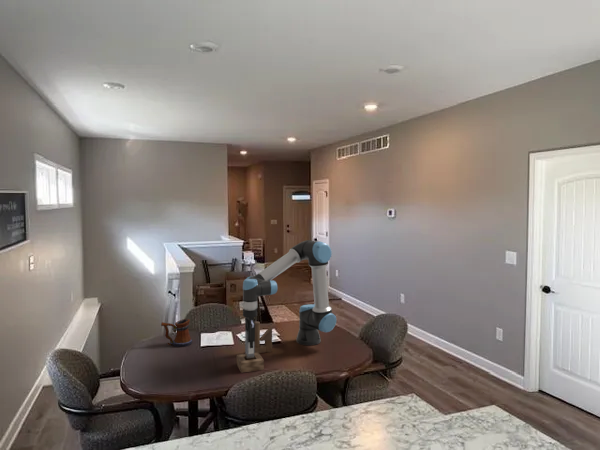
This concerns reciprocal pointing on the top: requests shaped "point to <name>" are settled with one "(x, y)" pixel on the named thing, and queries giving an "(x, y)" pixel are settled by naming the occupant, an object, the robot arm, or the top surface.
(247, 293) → the robot arm
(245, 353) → the peg
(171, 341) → the mug
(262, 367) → the socket block
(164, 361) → the top surface
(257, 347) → the brown braced frame
